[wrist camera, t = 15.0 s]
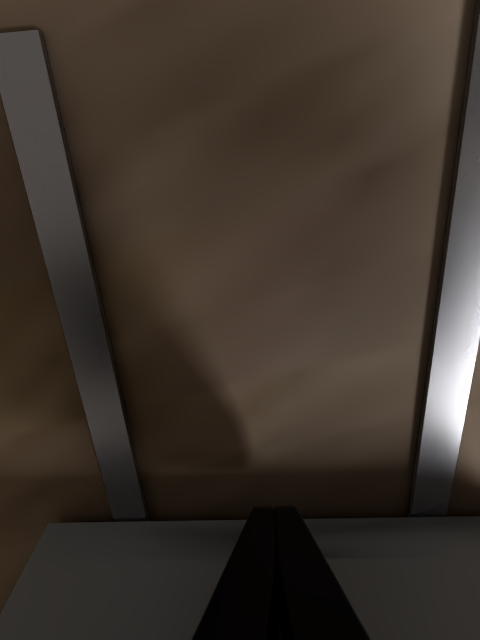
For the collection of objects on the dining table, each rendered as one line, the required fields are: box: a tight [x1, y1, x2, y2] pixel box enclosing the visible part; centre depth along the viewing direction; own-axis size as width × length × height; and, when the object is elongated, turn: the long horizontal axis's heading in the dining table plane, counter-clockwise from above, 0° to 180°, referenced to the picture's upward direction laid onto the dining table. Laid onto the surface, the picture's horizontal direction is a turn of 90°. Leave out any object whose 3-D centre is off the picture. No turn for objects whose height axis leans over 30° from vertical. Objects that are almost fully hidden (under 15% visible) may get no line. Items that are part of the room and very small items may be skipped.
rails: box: [0, 0, 480, 522], centre depth 11 cm, size 8×23×1 cm, turn 4°
